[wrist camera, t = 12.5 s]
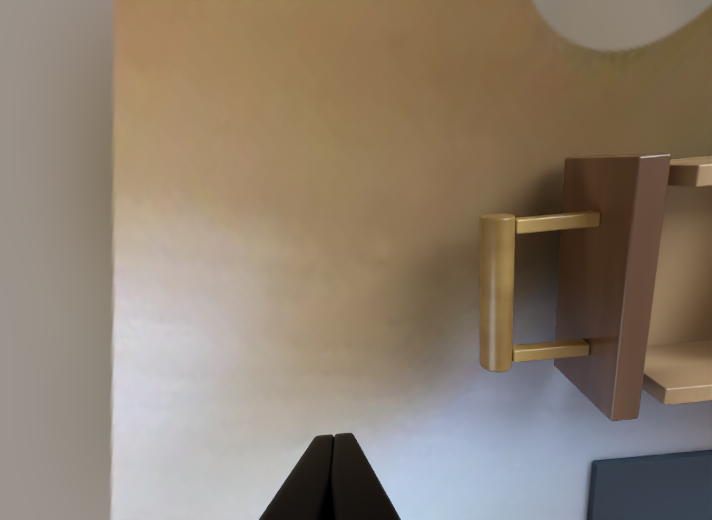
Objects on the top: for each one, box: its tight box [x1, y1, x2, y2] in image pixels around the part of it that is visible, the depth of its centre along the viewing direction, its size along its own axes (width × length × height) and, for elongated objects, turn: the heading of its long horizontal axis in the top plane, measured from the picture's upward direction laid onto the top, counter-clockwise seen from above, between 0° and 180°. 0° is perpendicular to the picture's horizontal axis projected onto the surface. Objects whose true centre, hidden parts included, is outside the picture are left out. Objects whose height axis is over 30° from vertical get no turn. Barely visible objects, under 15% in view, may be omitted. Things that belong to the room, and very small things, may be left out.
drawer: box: [479, 153, 712, 421], centre depth 17 cm, size 18×11×5 cm, turn 95°
